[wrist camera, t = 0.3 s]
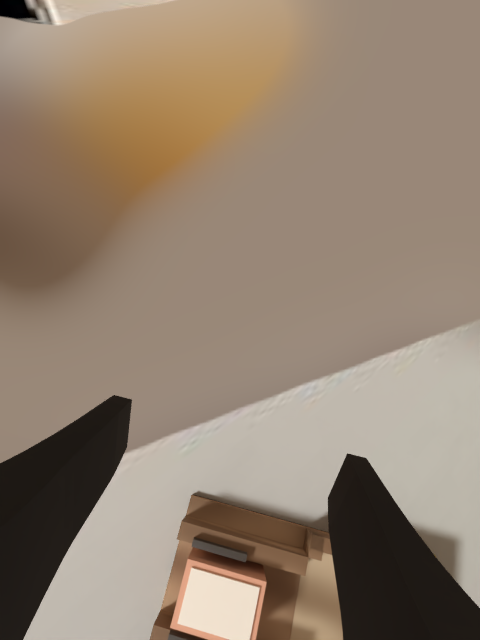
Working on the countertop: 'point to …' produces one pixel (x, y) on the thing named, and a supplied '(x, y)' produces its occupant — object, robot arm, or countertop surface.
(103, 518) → the countertop surface
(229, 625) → the block
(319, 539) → the wooden tray
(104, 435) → the robot arm
